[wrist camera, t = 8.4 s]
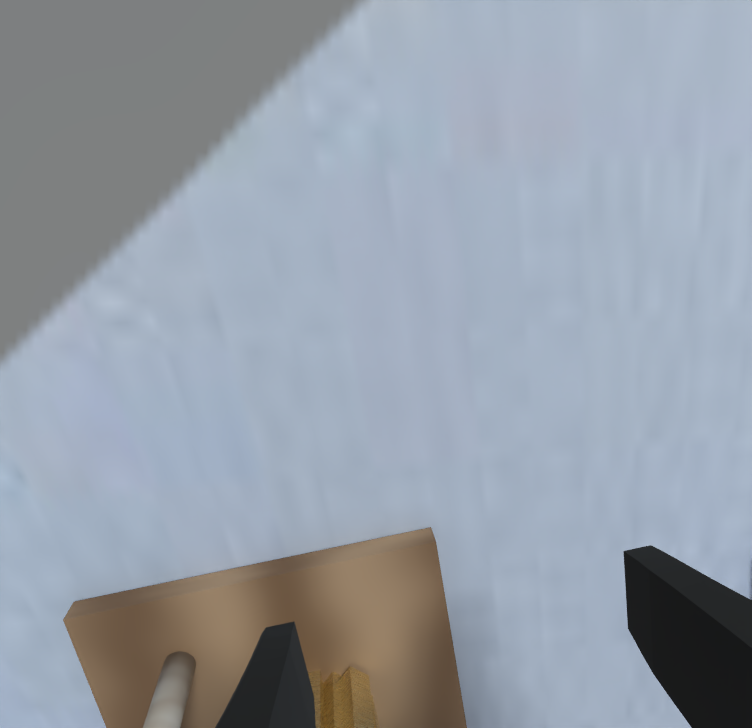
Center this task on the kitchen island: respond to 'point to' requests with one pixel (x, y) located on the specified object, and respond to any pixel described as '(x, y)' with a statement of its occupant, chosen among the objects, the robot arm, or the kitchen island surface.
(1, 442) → the kitchen island surface
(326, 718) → the brass gear
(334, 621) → the gear board
